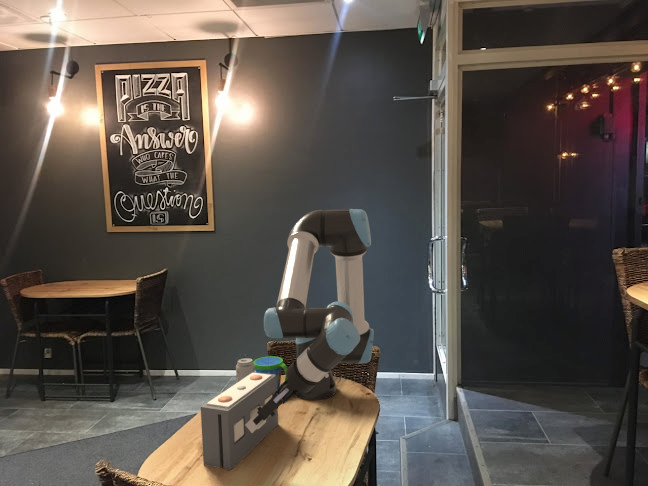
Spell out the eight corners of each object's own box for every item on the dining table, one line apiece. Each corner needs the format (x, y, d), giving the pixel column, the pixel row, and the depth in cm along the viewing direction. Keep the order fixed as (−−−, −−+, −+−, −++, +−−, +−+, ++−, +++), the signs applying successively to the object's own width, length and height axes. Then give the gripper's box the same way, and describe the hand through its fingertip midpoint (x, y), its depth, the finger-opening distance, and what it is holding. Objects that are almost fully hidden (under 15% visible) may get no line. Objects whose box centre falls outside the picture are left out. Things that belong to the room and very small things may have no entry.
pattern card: (206, 404, 123) (206, 402, 122) (252, 373, 144) (252, 372, 144) (228, 408, 120) (228, 405, 120) (271, 376, 141) (271, 374, 141)
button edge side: (226, 440, 123) (225, 424, 123) (235, 432, 127) (234, 416, 127) (234, 442, 122) (234, 425, 122) (244, 434, 126) (243, 418, 126)
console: (203, 464, 123) (200, 406, 121) (254, 420, 147) (252, 371, 145) (230, 470, 120) (227, 411, 118) (278, 424, 144) (276, 374, 143)
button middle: (249, 427, 129) (248, 412, 129) (257, 420, 134) (257, 405, 133) (258, 429, 129) (257, 413, 128) (266, 422, 133) (265, 406, 132)
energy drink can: (252, 409, 155) (251, 363, 153) (235, 408, 156) (233, 363, 155) (258, 401, 161) (256, 357, 159) (241, 400, 162) (239, 357, 160)
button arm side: (257, 414, 138) (256, 399, 137) (264, 408, 142) (264, 393, 141) (265, 415, 137) (264, 400, 136) (272, 409, 141) (272, 394, 140)
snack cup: (242, 389, 171) (241, 361, 171) (261, 380, 180) (260, 353, 180) (278, 398, 163) (277, 368, 162) (295, 387, 172) (294, 359, 171)
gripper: (307, 393, 107) (245, 452, 115) (328, 373, 119) (271, 427, 127) (284, 367, 109) (225, 427, 117) (308, 350, 121) (253, 405, 129)
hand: (249, 427), depth 122 cm, fingers closed
